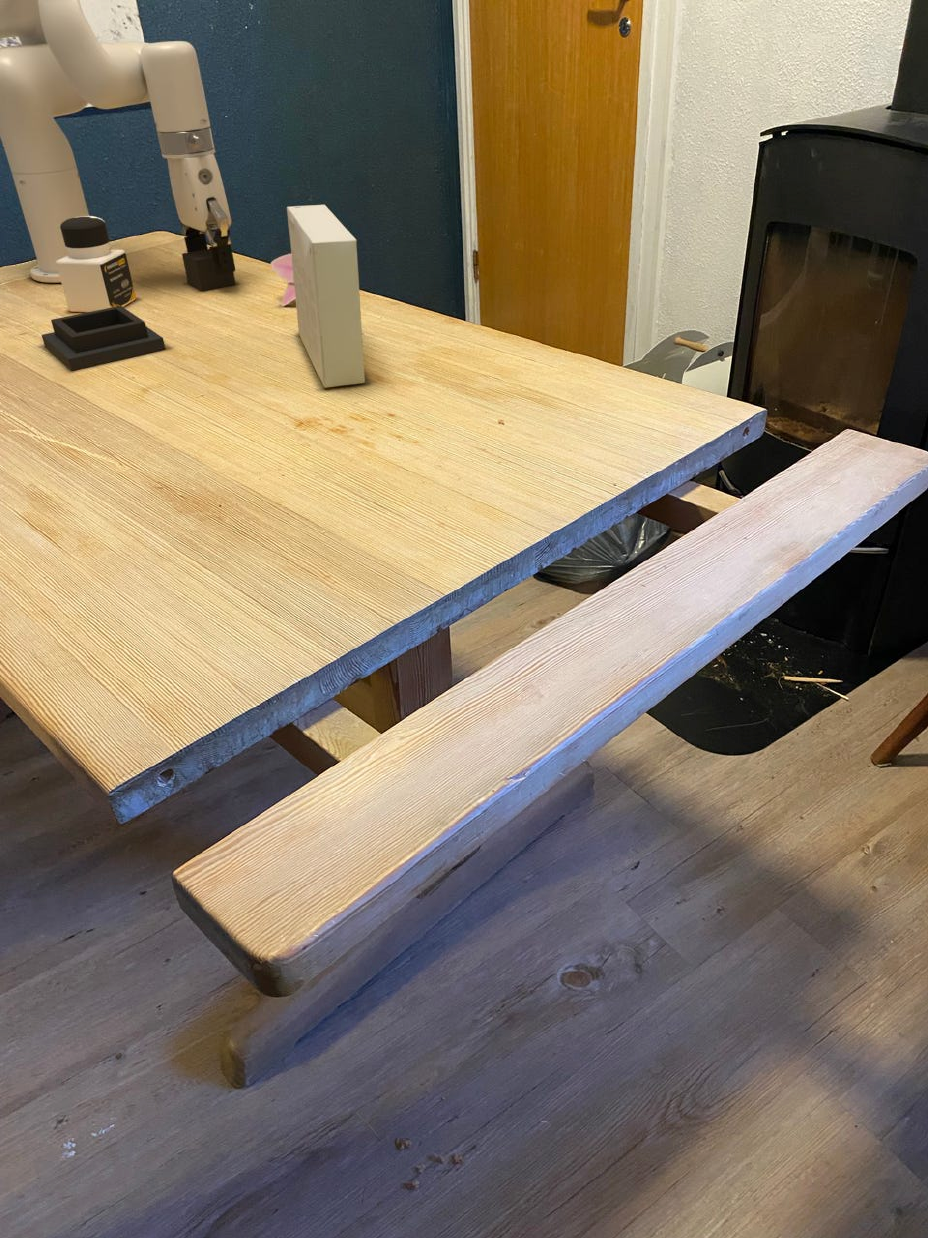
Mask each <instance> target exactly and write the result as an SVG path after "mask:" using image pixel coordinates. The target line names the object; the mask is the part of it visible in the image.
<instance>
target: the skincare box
mask: <svg viewBox="0 0 928 1238" xmlns="http://www.w3.org/2000/svg"><path fill="white" fill-rule="evenodd" d="M286 212H287V222H288V223H287V224H288V225H287V226H288V233H289V244H290V254H292V268H293V280H294V289H295V295H296V298H295V309H296V317H297V318H296V320H297V329H298V335H299V338H300V339H301V342H302V344H303V346H304V348H305V350H306V352H307V354H308V357H309V359H310V361H311V363H312V366H313V367H314V369H315V371H316V374H317V376H318V378H319V380H320V382H321V384H322V386H323V388H333V387H341V386H350V385H357V384H364V383H366V377H365V376H366V375H365V361H364V359H365V358H364V345H363V329H362V328H363V327H362V310H361V296H360V295H361V293H360V282H359V281H360V279H359V264H358V263H359V262H358V247H357V239H356V238H355V236H354V235H353V234H352V233H351V232H350V231H349V230H348V228H346V227H345V226H344V224H343V223H342V222H341V220H339V219H338V218H337V217H336V215H335V214H334V213H333V212H332V211H331V210H330V209H329V208H328V207H327V206H326V204H314V205H313V204H312V205H295V206H287V207H286Z"/></svg>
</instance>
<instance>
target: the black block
mask: <svg viewBox="0 0 928 1238" xmlns="http://www.w3.org/2000/svg"><path fill="white" fill-rule="evenodd" d="M181 257H182V262H183V267H184V272H185V276H186V277H185V278H186V282H187V284H188V285H190V286H192V287H193V288H194V289H197V290H198V291H201V292H205V291H210V290H214V289H219V288H224V287H225V288H226V287H230V286H234V285H235V286H236V279H235V272H231V273H226V274H222V275H216V274H215V273H214V269H213V264H212V259H211V255H210V250H209V248H208V249H205V250H200V251H194V252H189V253H187V252H183V253H181Z"/></svg>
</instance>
